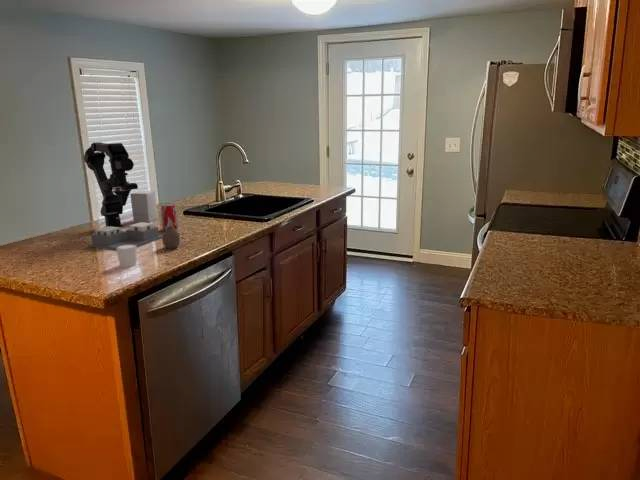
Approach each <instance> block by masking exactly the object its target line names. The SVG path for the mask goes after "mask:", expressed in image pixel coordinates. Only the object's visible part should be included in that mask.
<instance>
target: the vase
mask: <svg viewBox="0 0 640 480" xmlns="http://www.w3.org/2000/svg"><path fill="white" fill-rule="evenodd" d="M162 235H163V237H162V238H161V240H162V243H163V246H164V247H165V248H166V249H168V250H170V249H171V250H173V249H177V248H178V247H179V246H180V243H181V236H180V233H179V231H177V229H176V230H175V229H174V227H173V226H168V227H167V229H166V230H164V232H163V234H162Z"/></svg>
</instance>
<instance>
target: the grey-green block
mask: <svg viewBox="0 0 640 480" xmlns="http://www.w3.org/2000/svg"><path fill="white" fill-rule="evenodd" d="M94 231H95V233H96V235H105V236H110V235H113V234H116V233H120V232H121V231H122V227H111V226H107V227H105V226H103V227H101V228H97V229H95V230H94Z"/></svg>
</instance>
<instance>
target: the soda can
mask: <svg viewBox="0 0 640 480" xmlns="http://www.w3.org/2000/svg"><path fill="white" fill-rule="evenodd" d="M177 211H178V210H177V207H176V205H175V203H171V202H170V203H169V202H168V203H167V202H166V203H163V204H161V207H160V213H161V224H162V229H163V230H164V231H166V229H167V227H168V226H173V227H174V229H175V230H176V231H177V229H178V227H179V220H178V212H177Z"/></svg>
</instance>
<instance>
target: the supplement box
mask: <svg viewBox="0 0 640 480" xmlns="http://www.w3.org/2000/svg"><path fill="white" fill-rule="evenodd" d="M129 196H130V203H131V211H132V219H133V223H140V222H145V223H153V222H154V221H157V220H158V210H157V202H156V201H157V200H156V191H155V190H137V191H135V192H134V191H133V192H130V193H129Z"/></svg>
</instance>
